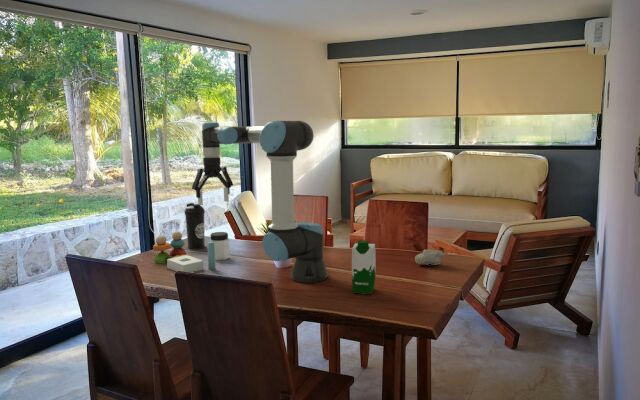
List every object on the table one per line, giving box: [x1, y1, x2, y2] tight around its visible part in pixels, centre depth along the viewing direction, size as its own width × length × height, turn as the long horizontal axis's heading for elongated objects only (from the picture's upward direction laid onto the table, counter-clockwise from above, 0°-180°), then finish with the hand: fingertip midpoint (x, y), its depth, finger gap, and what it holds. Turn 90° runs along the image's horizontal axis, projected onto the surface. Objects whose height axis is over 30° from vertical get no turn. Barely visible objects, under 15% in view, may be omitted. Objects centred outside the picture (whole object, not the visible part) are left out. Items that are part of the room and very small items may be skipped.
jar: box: [209, 231, 230, 261], centre depth 247 cm, size 9×8×12 cm
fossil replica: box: [414, 249, 445, 265], centre depth 231 cm, size 12×8×10 cm
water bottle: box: [184, 202, 206, 250], centre depth 269 cm, size 10×10×23 cm
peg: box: [206, 241, 216, 271], centre depth 229 cm, size 3×3×12 cm
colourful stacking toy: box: [152, 230, 191, 264], centre depth 247 cm, size 18×17×12 cm
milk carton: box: [351, 239, 377, 295], centre depth 196 cm, size 9×9×20 cm
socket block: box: [166, 254, 205, 273], centre depth 231 cm, size 14×10×4 cm
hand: (213, 203), depth 237 cm, fingers open, 13 cm apart
